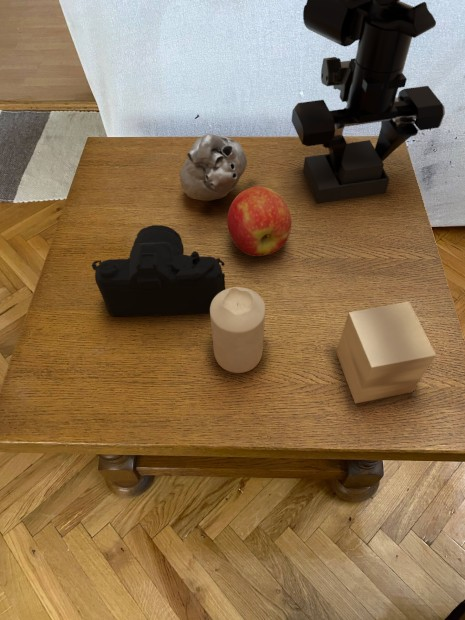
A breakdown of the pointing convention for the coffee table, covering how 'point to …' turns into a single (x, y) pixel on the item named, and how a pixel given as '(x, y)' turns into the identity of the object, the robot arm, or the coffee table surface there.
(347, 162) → the black block
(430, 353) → the beige wooden block
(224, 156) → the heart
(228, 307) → the candle
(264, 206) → the apple
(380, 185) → the black tray
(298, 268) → the coffee table surface
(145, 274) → the film camera
